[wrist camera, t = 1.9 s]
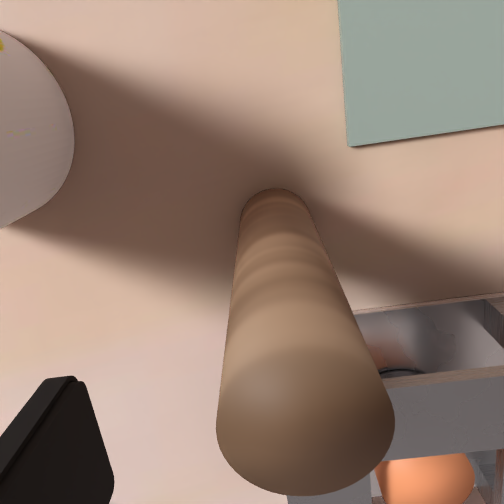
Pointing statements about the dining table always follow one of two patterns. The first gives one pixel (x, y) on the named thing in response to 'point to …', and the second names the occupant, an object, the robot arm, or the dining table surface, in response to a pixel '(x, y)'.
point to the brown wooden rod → (296, 362)
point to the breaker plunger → (426, 479)
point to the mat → (420, 67)
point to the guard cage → (438, 387)
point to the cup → (30, 132)
